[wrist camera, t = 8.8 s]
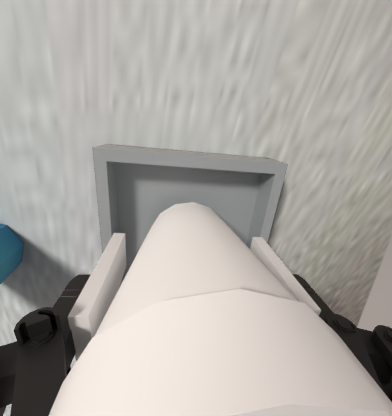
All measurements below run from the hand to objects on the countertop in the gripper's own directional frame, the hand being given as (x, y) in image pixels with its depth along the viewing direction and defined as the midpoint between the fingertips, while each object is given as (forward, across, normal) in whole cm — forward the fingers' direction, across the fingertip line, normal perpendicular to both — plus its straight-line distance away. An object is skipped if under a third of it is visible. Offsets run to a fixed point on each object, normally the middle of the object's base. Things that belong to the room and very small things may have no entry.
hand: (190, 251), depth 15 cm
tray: (+4, 0, 0) cm, 4 cm away
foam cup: (+2, 0, 0) cm, 2 cm away
